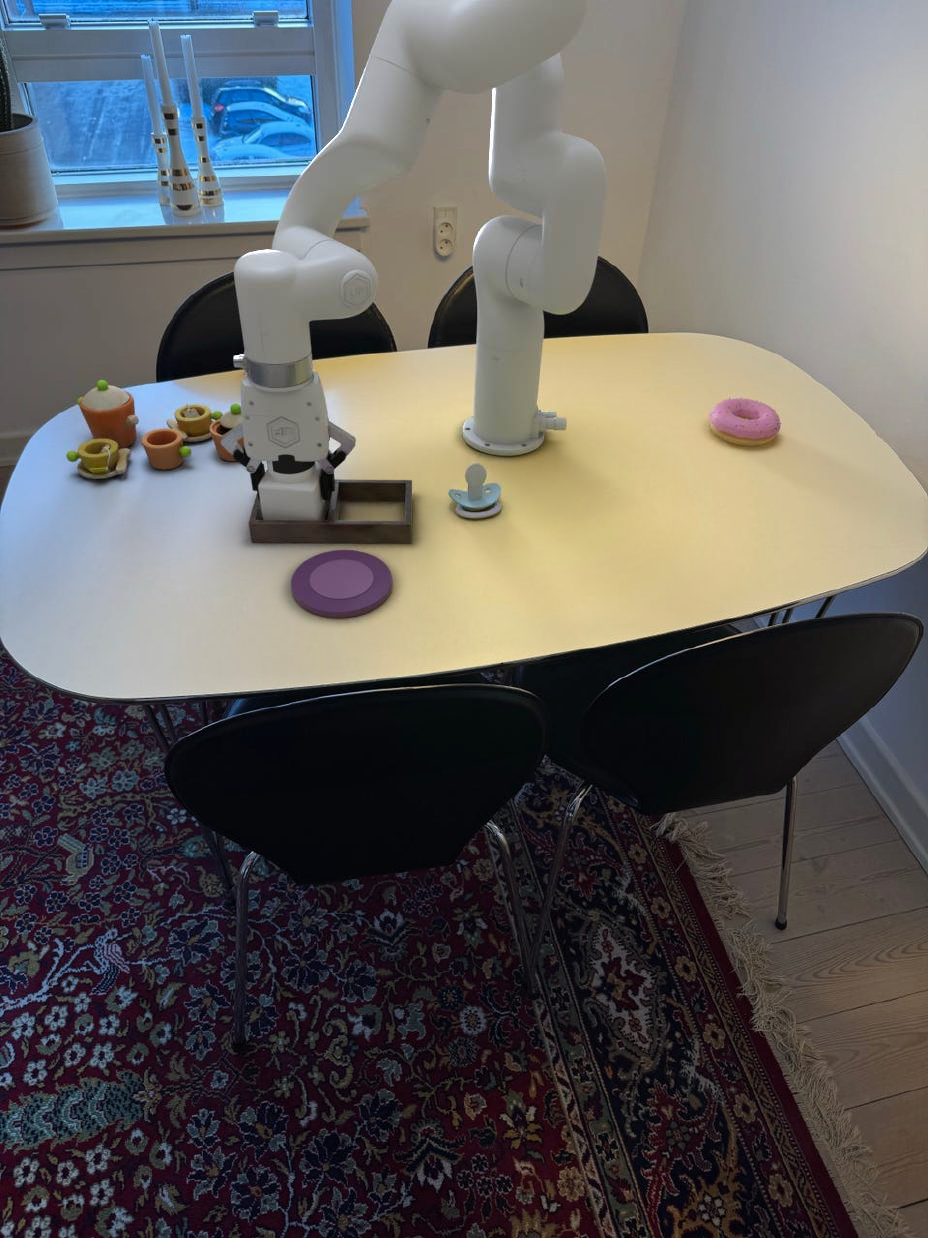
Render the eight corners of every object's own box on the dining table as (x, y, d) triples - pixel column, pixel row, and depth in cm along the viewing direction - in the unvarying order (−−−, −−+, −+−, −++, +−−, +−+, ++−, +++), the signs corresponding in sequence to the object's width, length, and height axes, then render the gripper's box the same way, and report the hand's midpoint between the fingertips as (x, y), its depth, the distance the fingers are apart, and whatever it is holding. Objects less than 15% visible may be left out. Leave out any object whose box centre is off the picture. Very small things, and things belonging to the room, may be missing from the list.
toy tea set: (70, 487, 117) (50, 424, 111) (76, 433, 128) (58, 373, 122) (263, 465, 123) (254, 404, 117) (252, 415, 134) (244, 357, 128)
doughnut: (700, 441, 133) (706, 416, 130) (712, 410, 140) (718, 387, 138) (772, 456, 130) (779, 431, 127) (780, 424, 137) (787, 400, 135)
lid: (393, 556, 108) (393, 549, 107) (390, 618, 99) (390, 611, 98) (297, 555, 107) (297, 548, 106) (286, 618, 98) (285, 610, 97)
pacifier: (509, 517, 115) (494, 492, 120) (512, 477, 111) (497, 453, 115) (457, 525, 114) (444, 499, 118) (459, 485, 109) (445, 461, 114)
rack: (412, 498, 118) (412, 479, 116) (411, 543, 110) (411, 524, 108) (263, 497, 117) (260, 478, 115) (251, 542, 109) (248, 523, 107)
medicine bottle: (330, 506, 116) (323, 426, 108) (318, 537, 110) (310, 455, 102) (278, 502, 116) (268, 422, 108) (264, 532, 111) (251, 450, 103)
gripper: (197, 379, 96) (222, 510, 107) (353, 381, 97) (360, 511, 108) (210, 351, 102) (232, 478, 113) (357, 353, 102) (363, 480, 114)
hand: (294, 494), depth 111 cm, fingers closed on medicine bottle, 7 cm apart
